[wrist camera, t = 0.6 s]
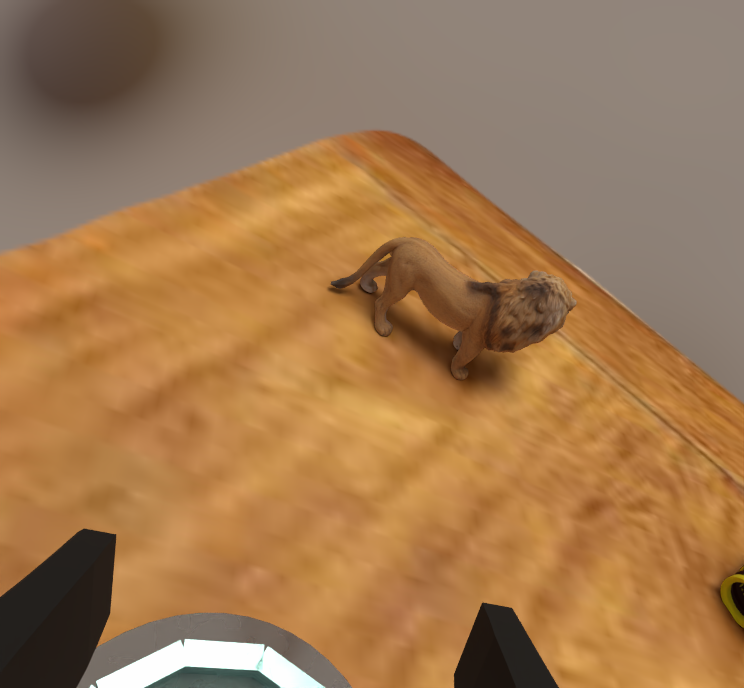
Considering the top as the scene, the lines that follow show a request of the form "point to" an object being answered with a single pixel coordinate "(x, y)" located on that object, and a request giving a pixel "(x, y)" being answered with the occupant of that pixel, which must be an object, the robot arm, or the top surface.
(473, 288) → the lion figurine
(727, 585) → the opera glasses
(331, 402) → the top surface
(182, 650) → the plate
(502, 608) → the robot arm
